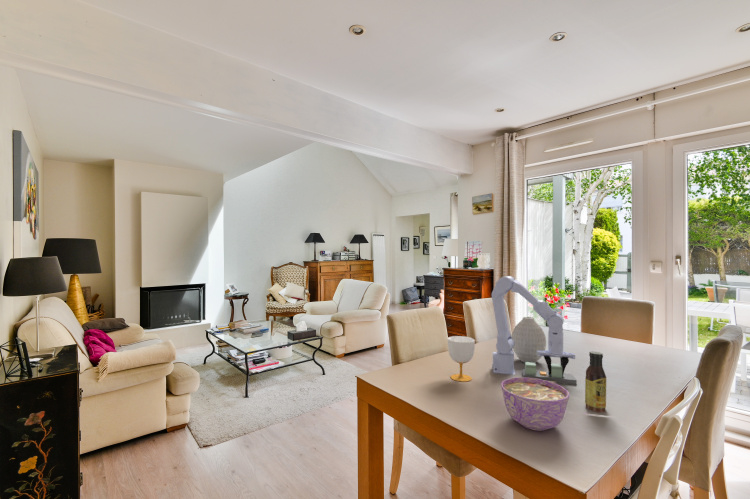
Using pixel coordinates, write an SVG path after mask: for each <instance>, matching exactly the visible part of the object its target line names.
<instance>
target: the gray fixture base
mask: <svg viewBox="0 0 750 499" xmlns="http://www.w3.org/2000/svg"><path fill="white" fill-rule="evenodd" d="M524 367H525V368H524V369H522V371H521V374H522V377H526V378H536V379H541V380H546V381H555V382H556V383H557V384H562V385H571V386H572V385H574V386H577V385H578V384H577V379H576V377H575V376H574V375H573V374H572V373H565V372H564V374H563V375H562V378H558V377H550V374H549V371H544V370H543V371H542V370H537V364H536V363H532V362H525V363H524Z"/></svg>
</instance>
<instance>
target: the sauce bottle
mask: <svg viewBox="0 0 750 499" xmlns="http://www.w3.org/2000/svg"><path fill="white" fill-rule="evenodd" d="M588 355H589V365H588V366H587V368H586V370H585V384H584V386H585V388H584V389H585V390H584V391H585V392H584V403H585V408H586V409H588V410H589V411H592V412H595V413H597V412H598V413H604V412H605V411H606V408H607V376H606V372H605V370H604V367H603V357H604V354H603V353H602V352H600V351H599V352H598V351H594V350H593V351H589V354H588Z"/></svg>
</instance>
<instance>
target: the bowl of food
mask: <svg viewBox="0 0 750 499" xmlns="http://www.w3.org/2000/svg"><path fill="white" fill-rule="evenodd" d="M500 383H501V384H500V387H501V391H502V396H503V401H504V404H505V407H506V411H507V412H508V414H509V415H510V417H511V418H512V419H513V420H514V421H515V422H517V423H518V424H520V425H521V426H523V427H524V428H526V429H528V430H533V431H539V432H541V431H547V430H550V429H553V428H555V427H558V426H559V424H561V423H562V421H563V420H564V416H565V414H566V411H567V407H568V403H569V399H570V392H569V390H567V389H566V388H565V387H563V386H561V385H560V384H559V383H557V384H555V383H552V382H549V381H546V380H541V379H536V378H526V377H523V376H522V377H520V376H519V377H510V378H506V379H504V380H502V382H500Z"/></svg>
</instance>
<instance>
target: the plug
mask: <svg viewBox="0 0 750 499" xmlns="http://www.w3.org/2000/svg"><path fill="white" fill-rule="evenodd" d="M550 377H558V378H562V366H561V363H552V362H551V374H550Z"/></svg>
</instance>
